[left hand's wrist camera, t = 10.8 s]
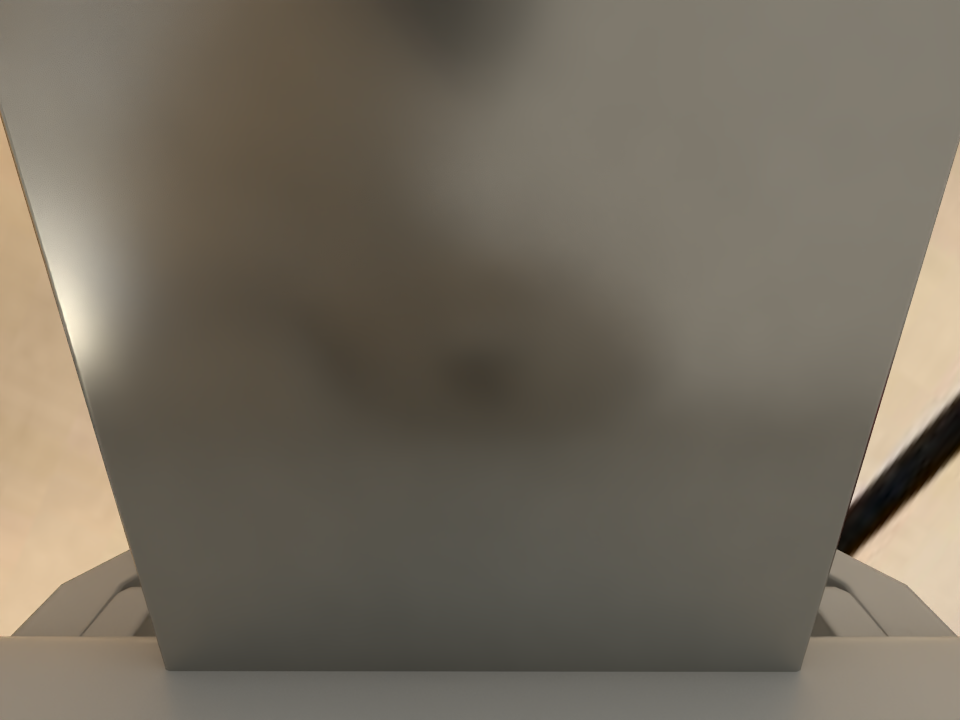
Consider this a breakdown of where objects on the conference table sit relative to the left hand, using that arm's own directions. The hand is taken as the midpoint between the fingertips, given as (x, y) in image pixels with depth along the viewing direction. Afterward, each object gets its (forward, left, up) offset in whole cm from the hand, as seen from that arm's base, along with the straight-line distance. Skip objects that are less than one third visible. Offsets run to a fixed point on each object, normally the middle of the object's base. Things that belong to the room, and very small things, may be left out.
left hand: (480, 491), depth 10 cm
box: (-1, +8, -3) cm, 8 cm away
